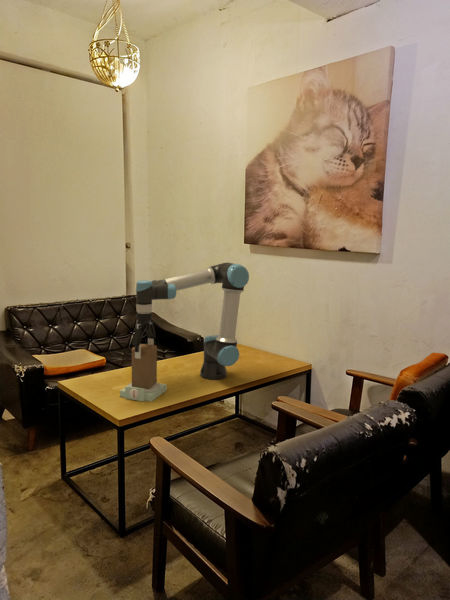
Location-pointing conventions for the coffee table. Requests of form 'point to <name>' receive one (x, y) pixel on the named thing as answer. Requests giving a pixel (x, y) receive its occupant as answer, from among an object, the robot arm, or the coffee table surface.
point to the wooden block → (144, 367)
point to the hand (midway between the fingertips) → (144, 354)
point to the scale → (143, 392)
